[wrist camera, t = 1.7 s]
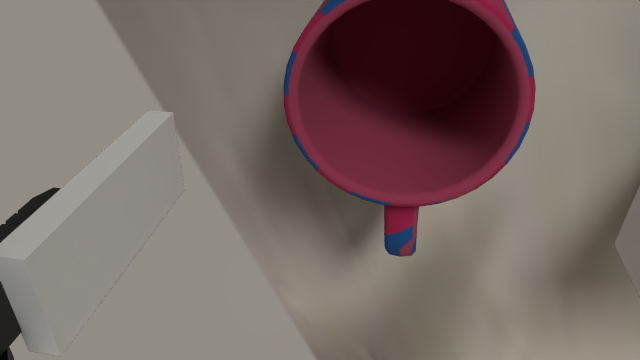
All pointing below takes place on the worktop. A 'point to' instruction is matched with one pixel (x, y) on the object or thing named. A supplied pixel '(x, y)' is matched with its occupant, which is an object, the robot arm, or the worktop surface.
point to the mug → (409, 101)
